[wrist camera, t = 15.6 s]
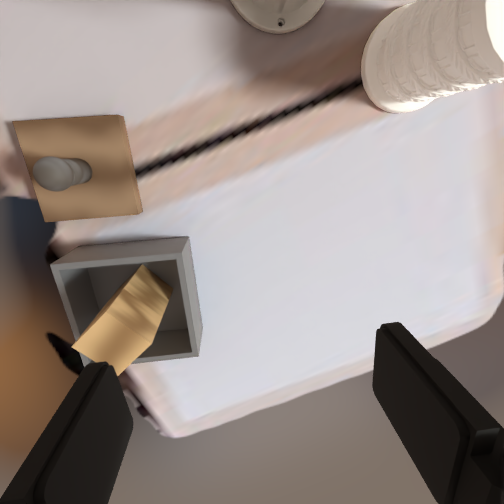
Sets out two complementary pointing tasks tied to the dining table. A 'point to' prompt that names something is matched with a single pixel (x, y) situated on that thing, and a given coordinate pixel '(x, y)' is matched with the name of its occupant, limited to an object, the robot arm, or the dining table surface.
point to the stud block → (80, 167)
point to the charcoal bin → (116, 273)
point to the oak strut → (126, 321)
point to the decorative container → (433, 52)
